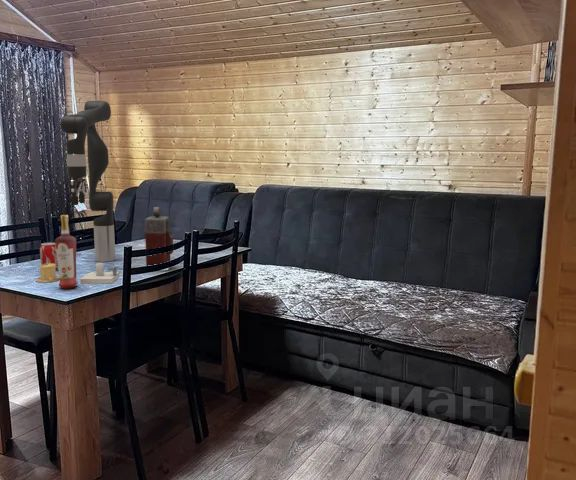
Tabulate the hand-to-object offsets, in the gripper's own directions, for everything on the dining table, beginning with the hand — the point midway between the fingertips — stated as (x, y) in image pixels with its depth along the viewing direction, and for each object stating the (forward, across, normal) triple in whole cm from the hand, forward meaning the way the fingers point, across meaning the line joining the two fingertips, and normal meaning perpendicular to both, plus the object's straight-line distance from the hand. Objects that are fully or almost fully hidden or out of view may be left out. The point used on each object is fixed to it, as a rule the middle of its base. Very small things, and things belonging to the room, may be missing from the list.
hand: (78, 204), depth 219 cm
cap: (+29, -12, +10) cm, 33 cm away
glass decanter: (+30, +8, -32) cm, 45 cm away
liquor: (+30, -25, -2) cm, 39 cm away
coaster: (+30, -12, +10) cm, 34 cm away
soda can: (+30, +6, +16) cm, 35 cm away
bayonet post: (+30, -13, -11) cm, 34 cm away
